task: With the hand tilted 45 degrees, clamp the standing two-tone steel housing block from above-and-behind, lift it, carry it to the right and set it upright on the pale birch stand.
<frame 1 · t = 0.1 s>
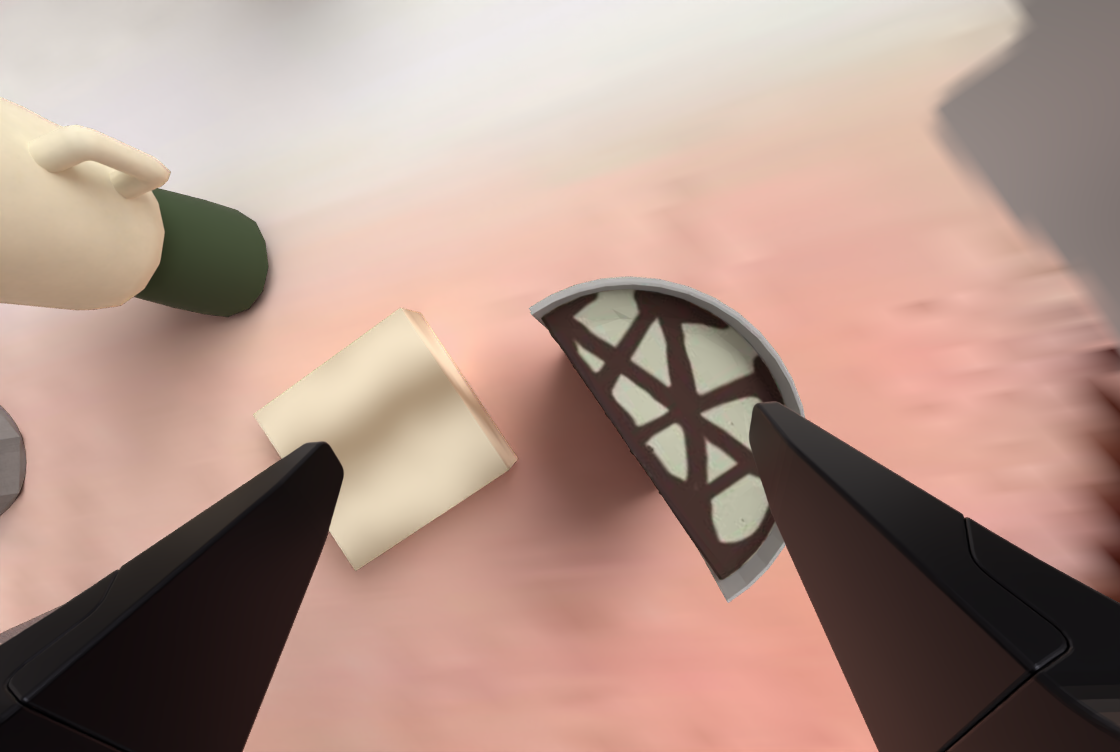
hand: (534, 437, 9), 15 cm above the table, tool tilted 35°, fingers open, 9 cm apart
housing: (144, 629, 27), on the table
food container: (661, 385, 24), on the table
character mug: (232, 265, 26), on the table
stand: (399, 433, 25), on the table
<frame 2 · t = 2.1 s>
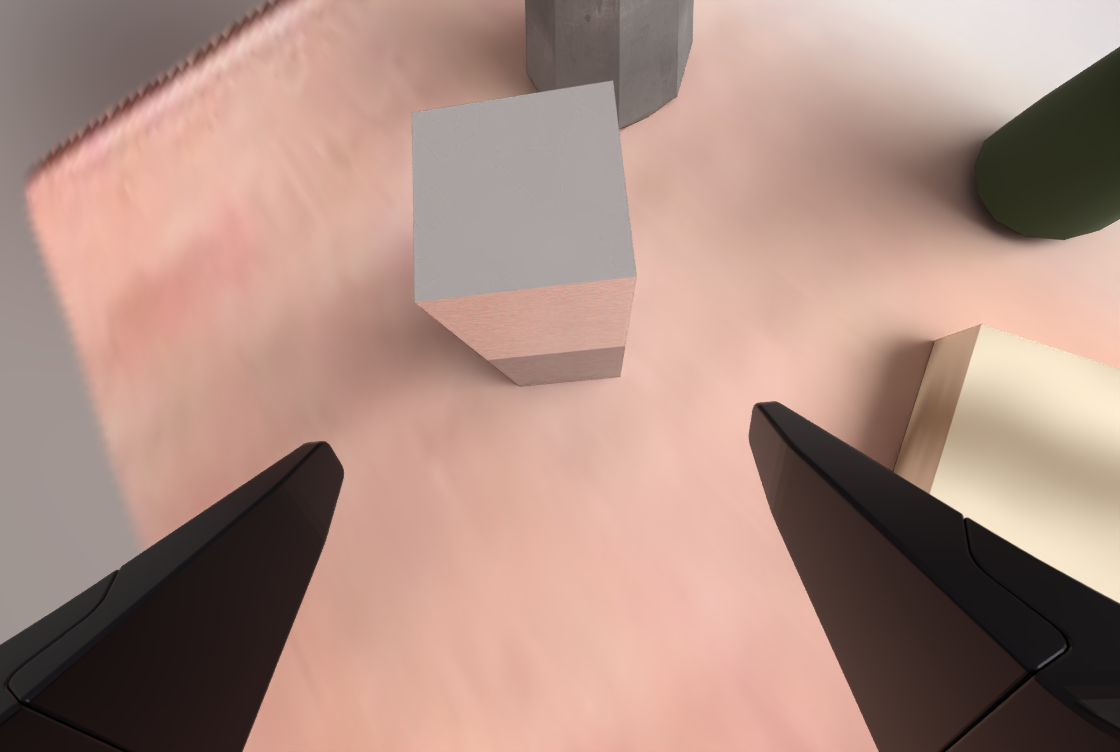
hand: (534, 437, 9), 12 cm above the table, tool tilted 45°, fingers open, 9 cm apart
housing: (565, 333, 22), on the table
character mug: (1028, 189, 21), on the table
stand: (1026, 488, 18), on the table
coffeepot: (589, 69, 25), on the table
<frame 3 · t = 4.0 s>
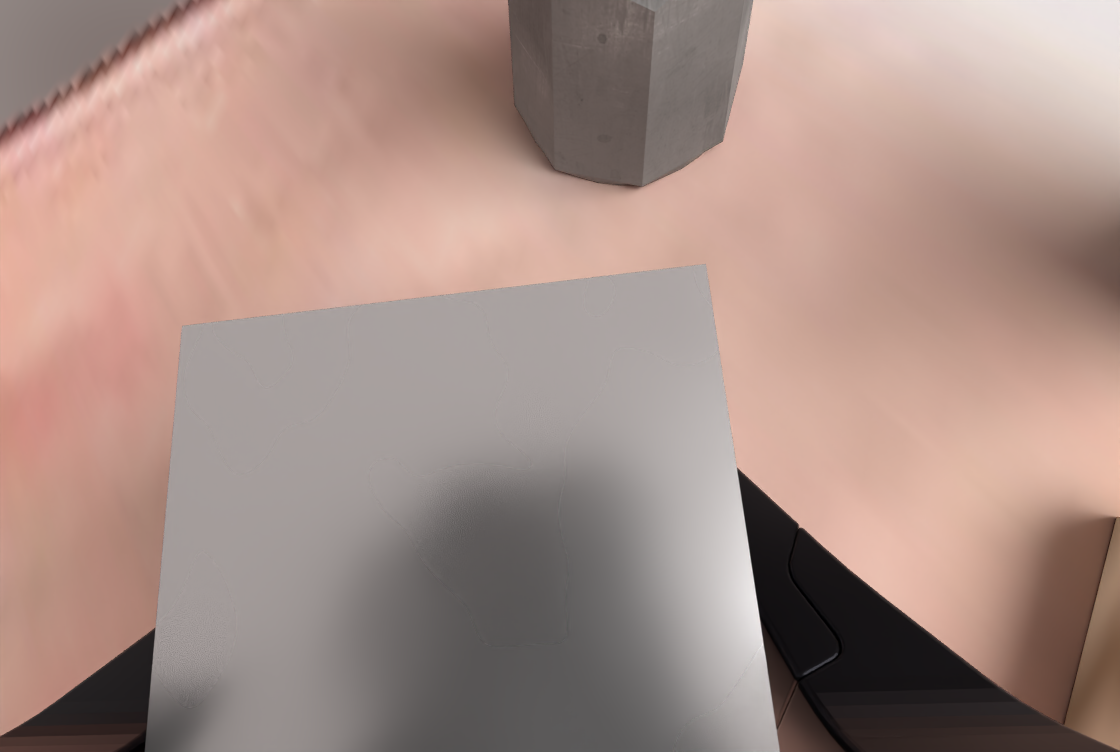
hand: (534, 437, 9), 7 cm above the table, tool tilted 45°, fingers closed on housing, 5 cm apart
housing: (567, 483, 15), on the table, touching gripper
coffeepot: (599, 99, 18), on the table
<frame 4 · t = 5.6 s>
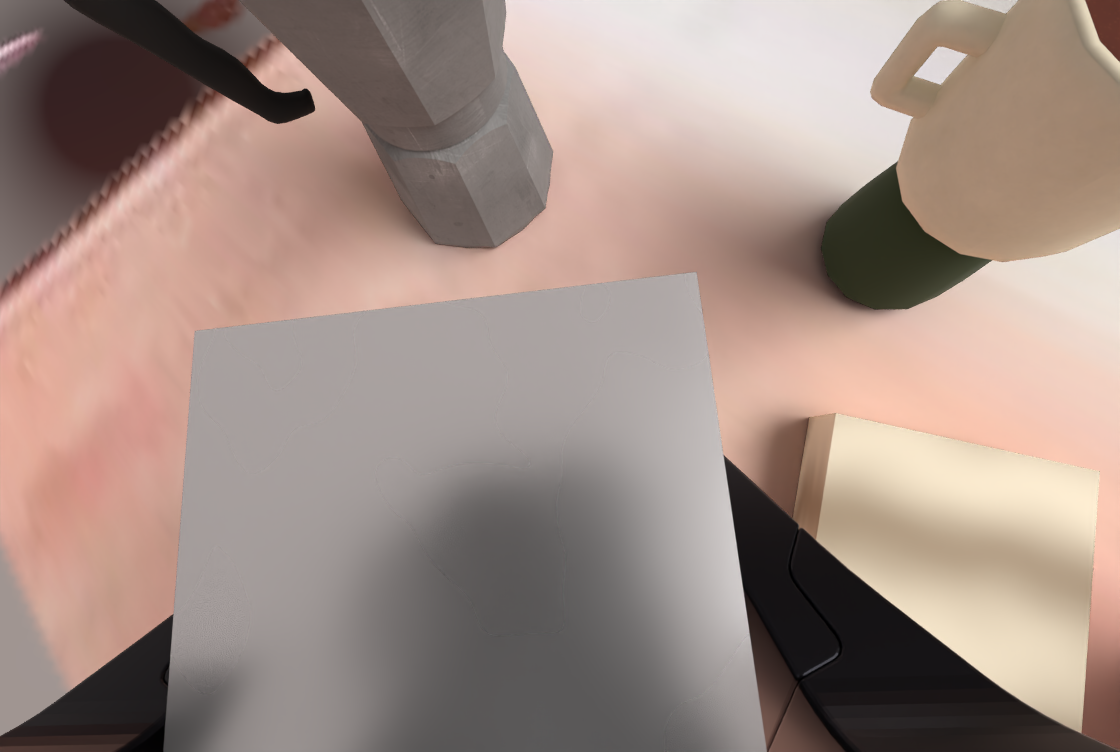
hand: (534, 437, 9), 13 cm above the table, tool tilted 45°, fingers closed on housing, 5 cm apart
housing: (566, 481, 15), point 6 cm above the table, touching gripper
character mug: (875, 257, 22), on the table
stand: (905, 548, 20), on the table
coffeepot: (462, 187, 25), on the table
when the fingers open (10 cm above the table, at t = 7.4 s): housing stays where it is, resting on stand.
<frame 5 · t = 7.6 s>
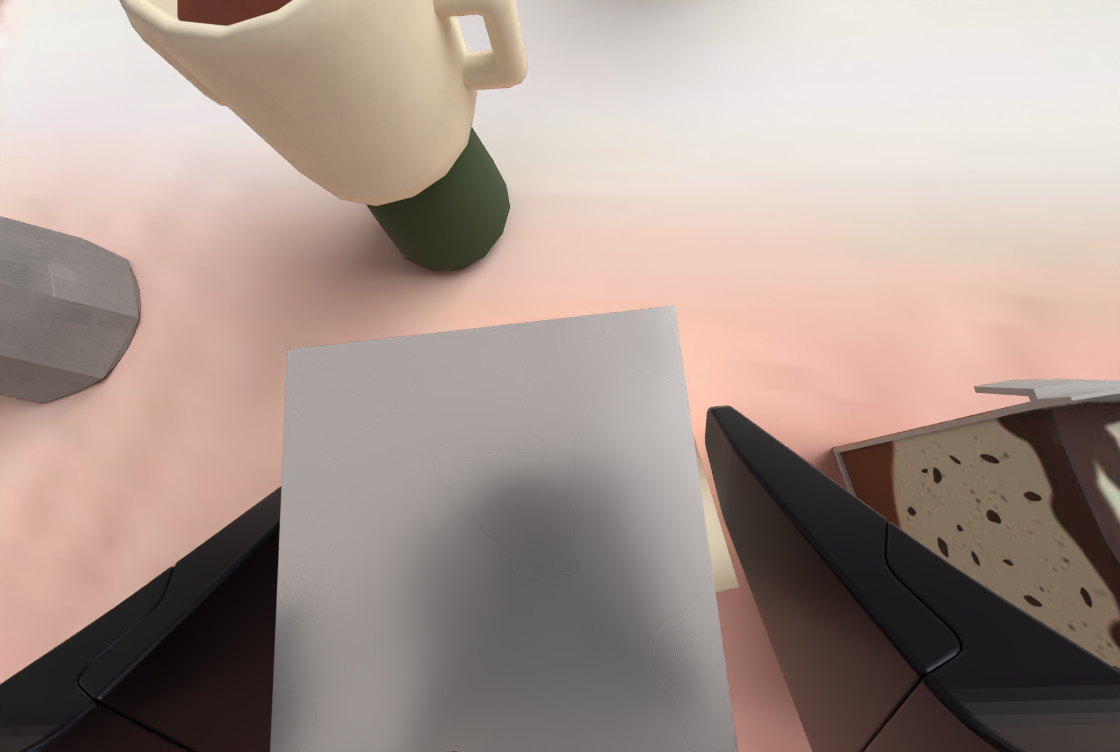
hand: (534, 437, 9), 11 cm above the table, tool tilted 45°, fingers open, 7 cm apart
housing: (570, 480, 17), point 3 cm above the table, touching stand
food container: (947, 543, 17), on the table
character mug: (455, 220, 22), on the table
stand: (575, 476, 19), on the table
coffeepot: (59, 334, 24), on the table
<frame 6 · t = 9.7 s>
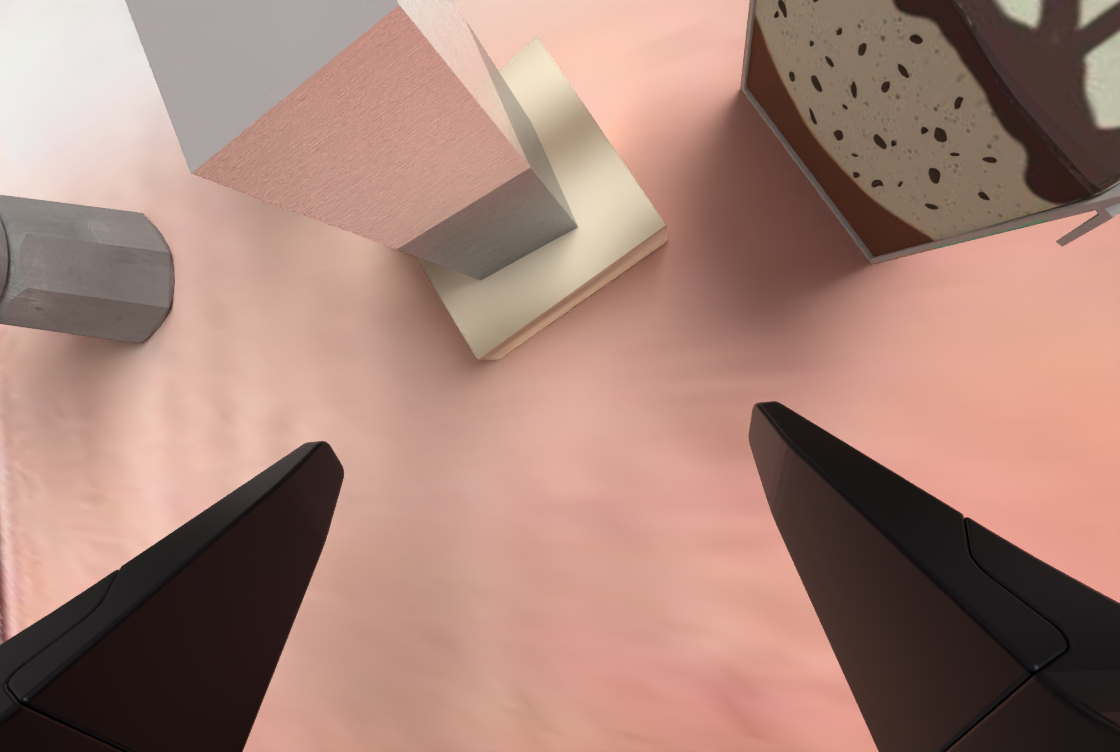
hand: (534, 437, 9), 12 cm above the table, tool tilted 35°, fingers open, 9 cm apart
housing: (505, 204, 19), point 2 cm above the table, touching stand
food container: (874, 126, 17), on the table
stand: (525, 221, 21), on the table
coffeepot: (129, 293, 30), on the table
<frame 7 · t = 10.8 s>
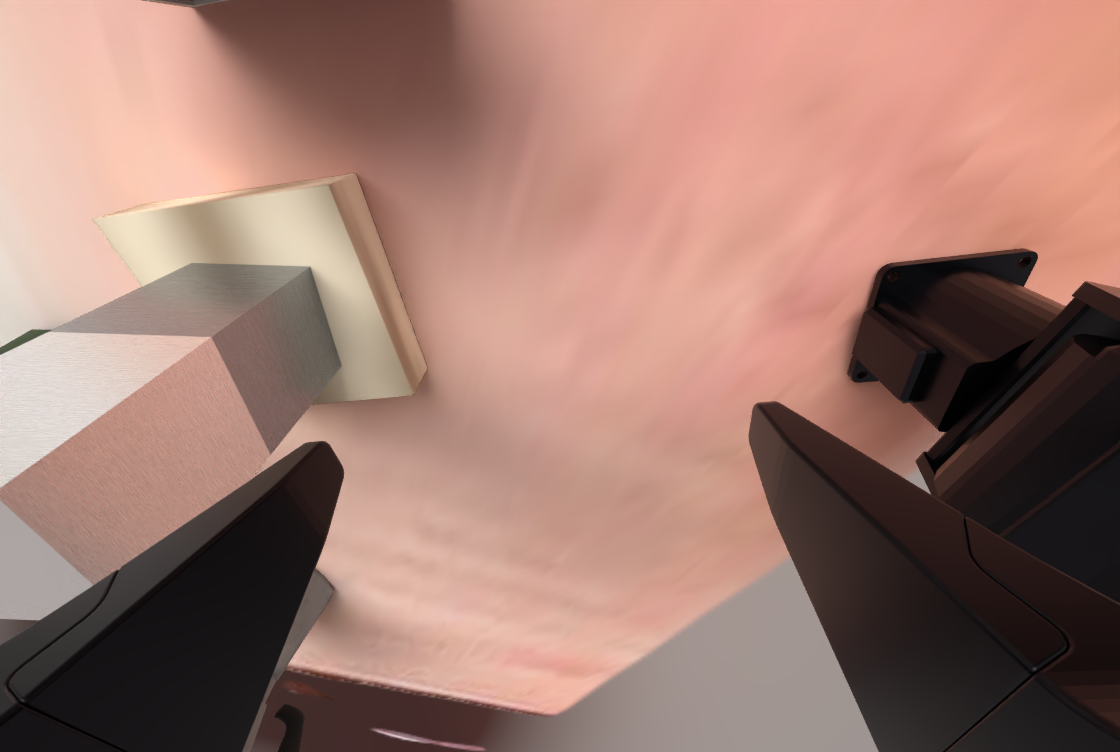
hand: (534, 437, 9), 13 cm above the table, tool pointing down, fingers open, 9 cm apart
housing: (272, 318, 19), point 2 cm above the table, touching stand
character mug: (99, 368, 25), on the table
stand: (300, 295, 21), on the table
coffeepot: (292, 585, 38), on the table
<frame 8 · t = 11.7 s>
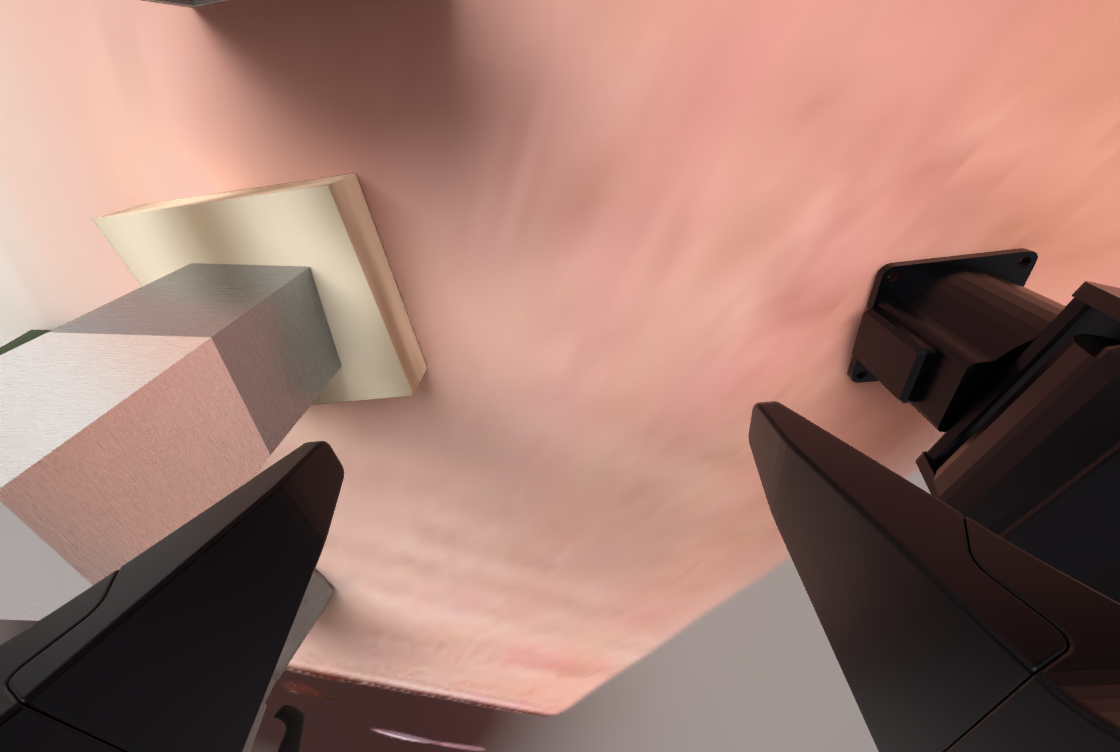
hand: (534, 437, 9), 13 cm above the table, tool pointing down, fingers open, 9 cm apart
housing: (272, 318, 19), point 2 cm above the table, touching stand
character mug: (99, 369, 25), on the table
stand: (300, 295, 21), on the table
coffeepot: (292, 585, 38), on the table
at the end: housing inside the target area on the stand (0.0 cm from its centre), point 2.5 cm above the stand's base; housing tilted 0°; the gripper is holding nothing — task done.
